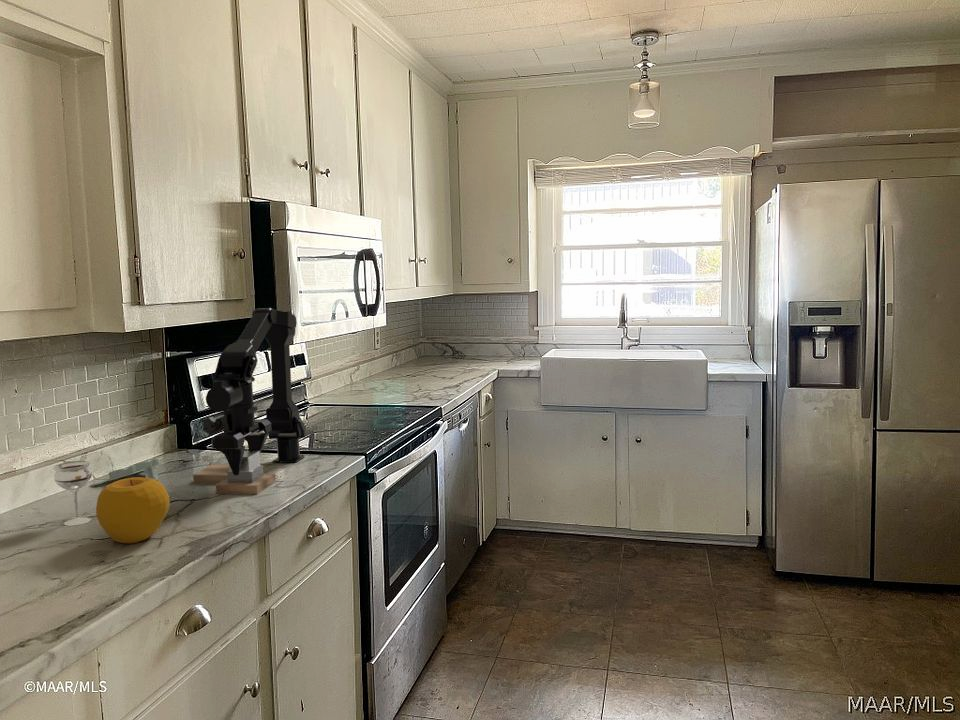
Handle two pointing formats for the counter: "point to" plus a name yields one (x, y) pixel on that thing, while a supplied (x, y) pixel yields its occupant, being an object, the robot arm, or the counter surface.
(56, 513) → the counter surface
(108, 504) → the apple
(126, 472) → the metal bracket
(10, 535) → the counter surface
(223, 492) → the stand
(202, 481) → the stand
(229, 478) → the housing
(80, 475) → the wineglass
